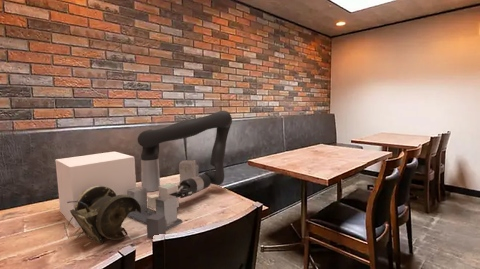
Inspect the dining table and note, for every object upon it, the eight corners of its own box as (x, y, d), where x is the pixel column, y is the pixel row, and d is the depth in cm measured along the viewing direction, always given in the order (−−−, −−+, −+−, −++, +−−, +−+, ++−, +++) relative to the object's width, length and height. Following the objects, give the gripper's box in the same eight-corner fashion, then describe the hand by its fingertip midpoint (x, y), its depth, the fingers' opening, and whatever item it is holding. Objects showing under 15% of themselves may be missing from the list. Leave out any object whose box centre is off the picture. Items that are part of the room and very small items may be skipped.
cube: (118, 198, 135) (114, 151, 133) (137, 209, 121) (134, 156, 118) (60, 213, 117) (55, 159, 115) (75, 228, 103) (69, 167, 100)
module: (159, 208, 116) (158, 186, 115) (170, 204, 121) (169, 182, 120) (168, 211, 113) (167, 188, 112) (178, 206, 118) (177, 184, 117)
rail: (124, 215, 114) (123, 190, 112) (142, 208, 121) (141, 185, 120) (164, 231, 99) (163, 202, 98) (182, 222, 106) (181, 195, 105)
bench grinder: (122, 208, 113) (96, 171, 104) (151, 219, 98) (124, 177, 90) (77, 246, 99) (43, 207, 91) (103, 266, 85) (66, 221, 77)
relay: (147, 236, 95) (146, 218, 94) (154, 231, 99) (153, 213, 98) (158, 239, 93) (158, 220, 93) (165, 233, 97) (164, 215, 96)
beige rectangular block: (147, 206, 124) (147, 196, 123) (155, 204, 126) (155, 193, 126) (152, 208, 121) (151, 198, 120) (160, 206, 124) (159, 195, 123)
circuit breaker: (199, 182, 160) (198, 158, 158) (193, 190, 146) (192, 163, 144) (187, 182, 161) (186, 158, 159) (179, 189, 147) (178, 163, 145)
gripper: (181, 176, 132) (152, 184, 118) (203, 180, 123) (175, 190, 110) (182, 190, 132) (153, 201, 119) (203, 196, 124) (175, 208, 111)
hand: (164, 196), depth 114 cm, fingers closed on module, 5 cm apart
